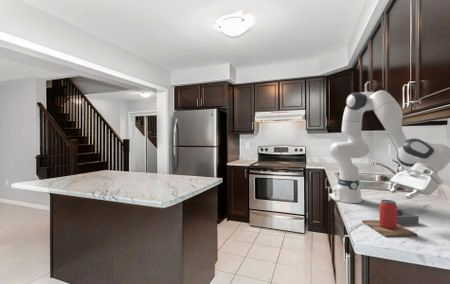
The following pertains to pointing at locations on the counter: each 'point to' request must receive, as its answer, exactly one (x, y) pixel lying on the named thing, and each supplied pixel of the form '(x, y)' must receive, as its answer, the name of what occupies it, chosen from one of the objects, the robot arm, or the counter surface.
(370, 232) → the counter surface
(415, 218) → the can collar
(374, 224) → the walnut board
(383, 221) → the beer can
